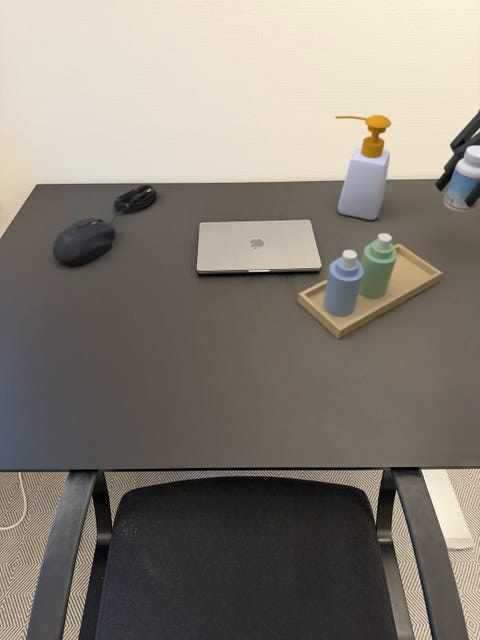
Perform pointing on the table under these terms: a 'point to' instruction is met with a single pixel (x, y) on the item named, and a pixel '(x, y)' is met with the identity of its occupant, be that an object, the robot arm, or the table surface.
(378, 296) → the green bottle
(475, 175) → the pill bottle
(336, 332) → the tray
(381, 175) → the soap bottle
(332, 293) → the blue-grey bottle
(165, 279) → the table surface
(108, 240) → the computer mouse
